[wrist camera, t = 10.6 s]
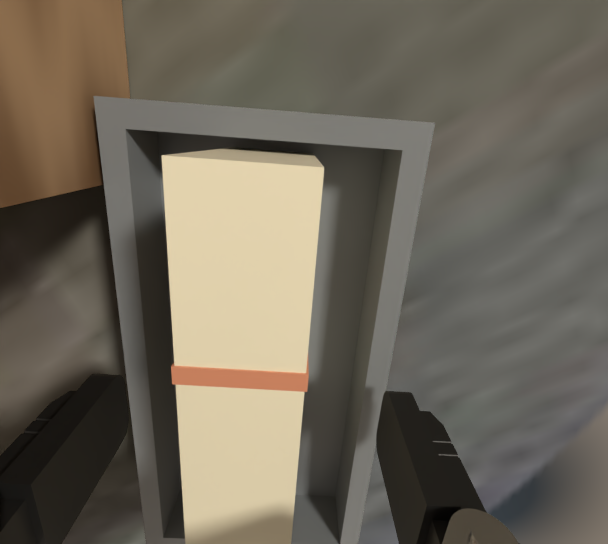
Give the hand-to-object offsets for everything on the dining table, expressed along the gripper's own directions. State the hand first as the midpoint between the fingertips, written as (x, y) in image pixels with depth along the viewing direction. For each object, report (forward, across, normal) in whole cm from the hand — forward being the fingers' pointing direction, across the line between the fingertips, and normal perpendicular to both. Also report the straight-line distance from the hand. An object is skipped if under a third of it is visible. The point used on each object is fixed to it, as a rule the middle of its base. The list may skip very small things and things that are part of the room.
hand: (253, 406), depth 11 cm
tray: (+4, 0, 0) cm, 4 cm away
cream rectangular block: (+3, 0, -1) cm, 3 cm away
